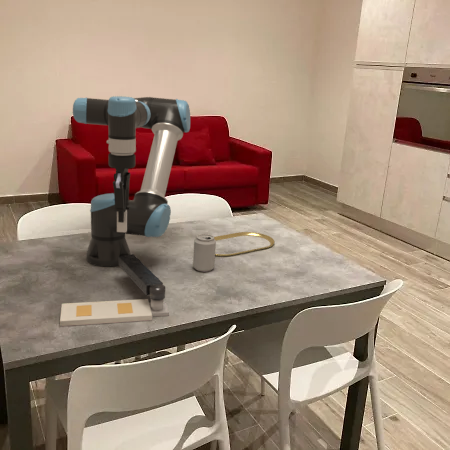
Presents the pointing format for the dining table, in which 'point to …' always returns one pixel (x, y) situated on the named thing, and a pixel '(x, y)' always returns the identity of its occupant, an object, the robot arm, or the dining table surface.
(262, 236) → the curved rod
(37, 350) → the dining table surface
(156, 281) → the swing arm
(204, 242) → the can
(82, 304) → the panel
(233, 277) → the dining table surface
